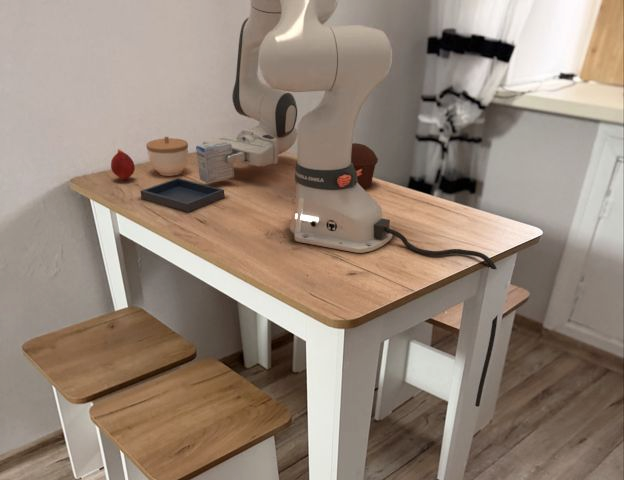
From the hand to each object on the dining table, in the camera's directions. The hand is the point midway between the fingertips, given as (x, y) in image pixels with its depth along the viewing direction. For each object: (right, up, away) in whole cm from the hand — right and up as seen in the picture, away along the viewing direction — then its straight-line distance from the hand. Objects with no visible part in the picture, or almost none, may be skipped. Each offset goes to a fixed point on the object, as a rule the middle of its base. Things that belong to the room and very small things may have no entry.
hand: (217, 157), depth 151 cm
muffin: (+35, -5, +5) cm, 36 cm away
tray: (-7, -12, -5) cm, 15 cm away
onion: (-25, -4, +6) cm, 26 cm away
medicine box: (0, -5, +3) cm, 6 cm away
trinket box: (-15, 0, +12) cm, 19 cm away
